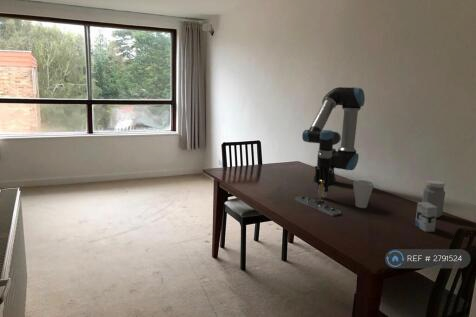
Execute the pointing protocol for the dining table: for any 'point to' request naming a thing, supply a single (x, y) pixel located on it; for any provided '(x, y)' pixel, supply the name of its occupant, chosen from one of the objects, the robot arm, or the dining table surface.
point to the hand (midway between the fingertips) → (322, 195)
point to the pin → (321, 188)
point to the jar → (435, 195)
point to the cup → (362, 192)
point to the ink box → (426, 216)
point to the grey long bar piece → (318, 205)
